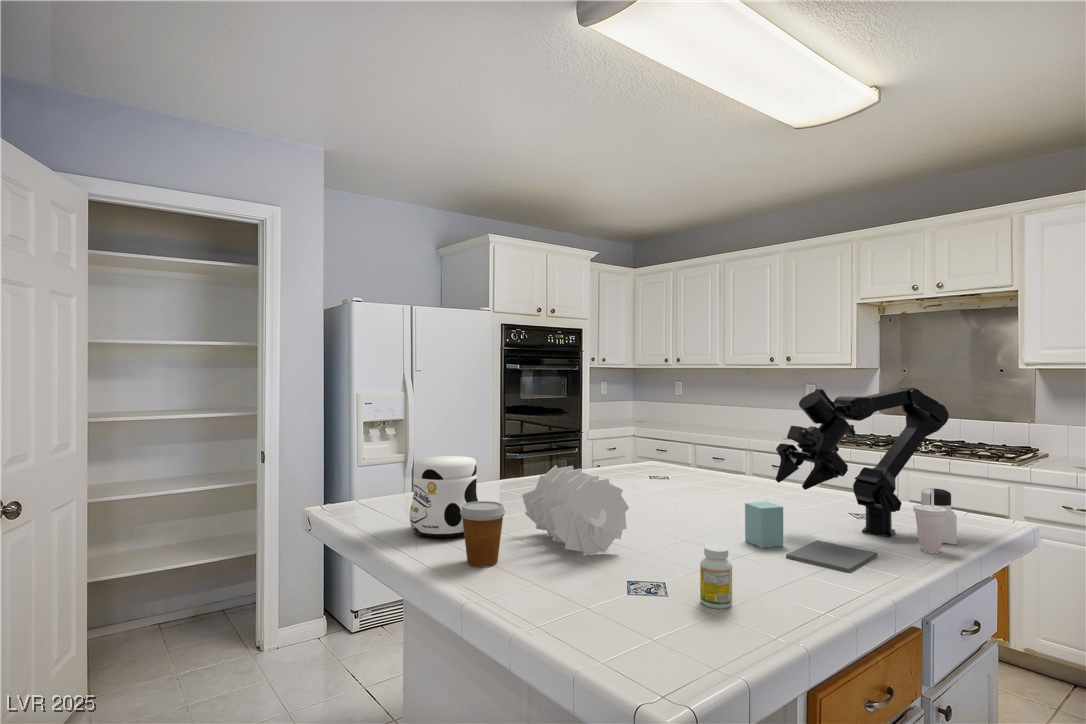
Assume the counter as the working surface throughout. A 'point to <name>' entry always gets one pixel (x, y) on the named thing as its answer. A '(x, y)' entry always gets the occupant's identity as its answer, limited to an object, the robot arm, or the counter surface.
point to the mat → (832, 555)
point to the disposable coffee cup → (482, 531)
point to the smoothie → (930, 525)
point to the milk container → (442, 494)
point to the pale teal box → (764, 524)
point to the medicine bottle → (950, 521)
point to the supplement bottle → (716, 577)
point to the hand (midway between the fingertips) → (789, 484)
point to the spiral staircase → (577, 509)
